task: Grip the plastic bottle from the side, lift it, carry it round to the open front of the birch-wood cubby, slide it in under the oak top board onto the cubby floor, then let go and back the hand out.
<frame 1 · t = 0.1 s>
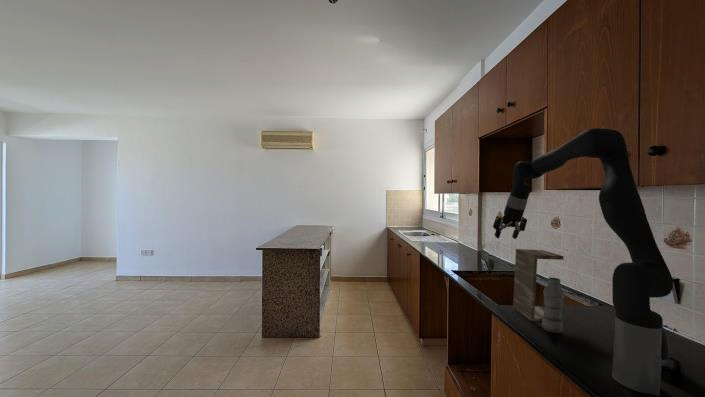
hand: (505, 237, 137), 31 cm above the counter, tool tilted 20°, fingers open, 8 cm apart
cubby shelf: (535, 314, 127), on the counter
plastic bottle: (551, 332, 111), on the counter
pump dispenser: (645, 362, 92), on the counter
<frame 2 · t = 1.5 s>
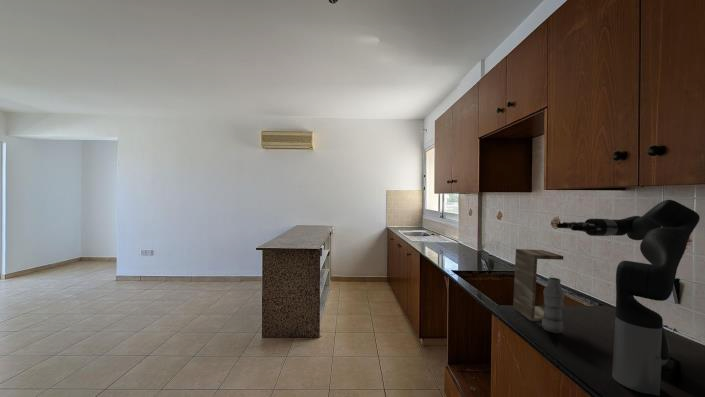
hand: (564, 226, 128), 38 cm above the counter, tool horizontal, fingers open, 8 cm apart
nothing on the counter moved.
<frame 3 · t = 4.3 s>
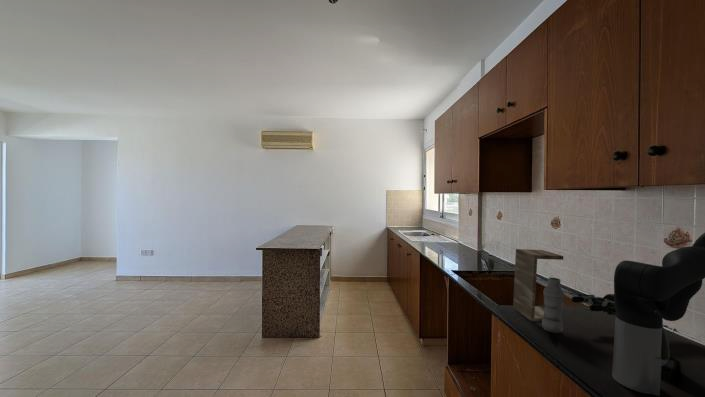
hand: (581, 303, 111), 11 cm above the counter, tool horizontal, fingers open, 8 cm apart
nothing on the counter moved.
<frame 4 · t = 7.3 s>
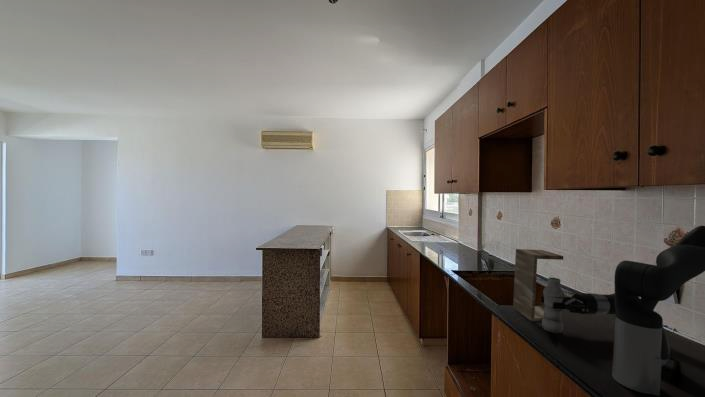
hand: (547, 302, 111), 11 cm above the counter, tool horizontal, fingers closed on plastic bottle, 6 cm apart
plastic bottle: (551, 332, 111), on the counter, touching gripper
everything else where it was.
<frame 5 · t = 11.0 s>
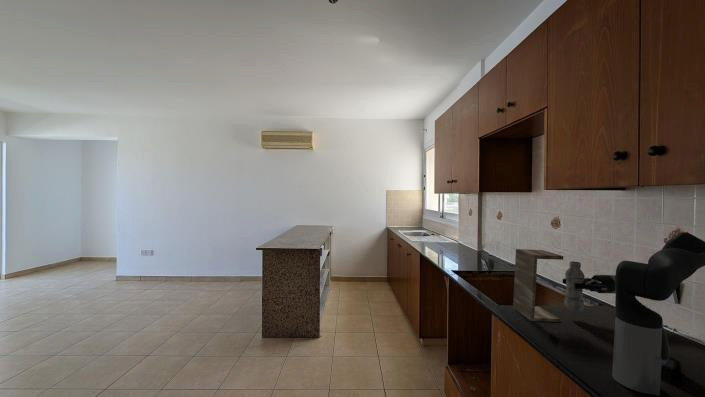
hand: (569, 283, 124), 15 cm above the counter, tool horizontal, fingers closed on plastic bottle, 6 cm apart
plastic bottle: (573, 310, 124), point 4 cm above the counter, touching gripper
everything else where it was.
when the fingers open (12 cm above the counter, at t = 14.8 s): plastic bottle stays where it is, resting on cubby shelf.
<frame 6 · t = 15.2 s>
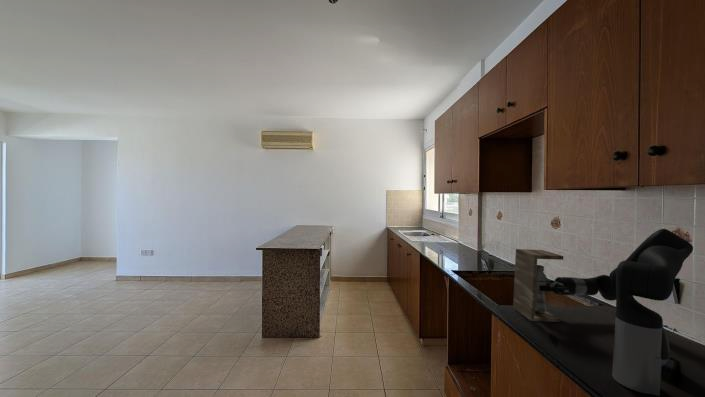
hand: (533, 285, 127), 13 cm above the counter, tool horizontal, fingers open, 8 cm apart
plastic bottle: (536, 312, 127), point 1 cm above the counter, touching cubby shelf
everything else where it was.
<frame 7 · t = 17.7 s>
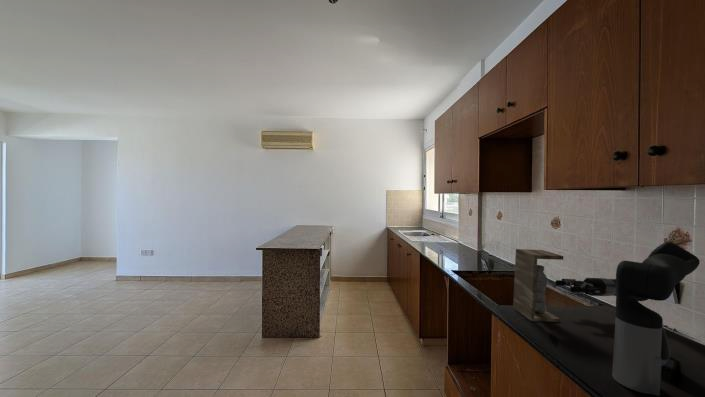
hand: (563, 285, 127), 13 cm above the counter, tool horizontal, fingers open, 8 cm apart
nothing on the counter moved.
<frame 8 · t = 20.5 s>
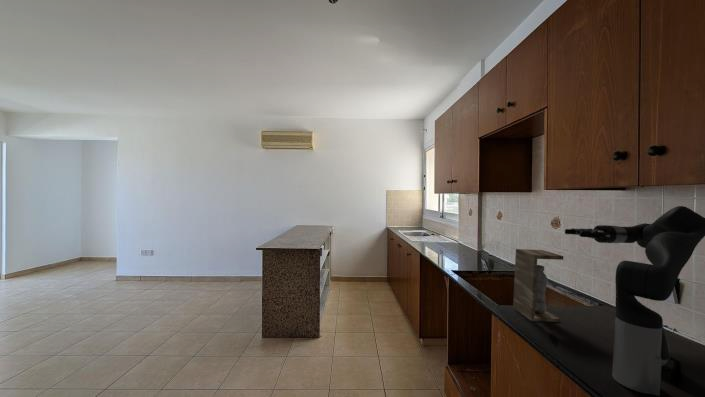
hand: (572, 232, 126), 36 cm above the counter, tool horizontal, fingers open, 8 cm apart
nothing on the counter moved.
at the end: plastic bottle inside the target area on the cubby shelf (0.3 cm from its centre), point 1.0 cm above the cubby shelf's base; plastic bottle tilted 0°; the gripper is holding nothing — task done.
